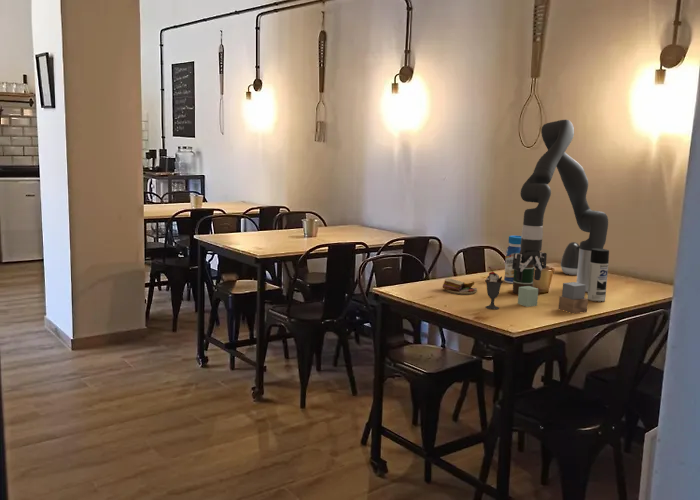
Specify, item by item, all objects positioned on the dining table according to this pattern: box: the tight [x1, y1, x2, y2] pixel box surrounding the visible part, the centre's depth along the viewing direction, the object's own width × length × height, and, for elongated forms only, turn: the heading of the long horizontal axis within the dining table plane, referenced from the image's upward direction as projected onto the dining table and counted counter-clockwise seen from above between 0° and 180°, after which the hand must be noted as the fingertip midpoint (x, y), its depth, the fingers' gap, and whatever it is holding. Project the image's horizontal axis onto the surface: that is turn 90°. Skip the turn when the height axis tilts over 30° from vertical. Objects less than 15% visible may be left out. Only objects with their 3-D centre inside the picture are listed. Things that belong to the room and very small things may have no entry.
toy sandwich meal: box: [442, 278, 478, 296], centre depth 272 cm, size 12×14×5 cm
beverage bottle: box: [503, 235, 522, 284], centre depth 292 cm, size 8×8×20 cm
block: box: [517, 286, 539, 308], centre depth 253 cm, size 5×5×6 cm
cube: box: [561, 281, 586, 300], centre depth 245 cm, size 6×6×5 cm
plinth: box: [558, 295, 589, 314], centre depth 246 cm, size 7×7×5 cm
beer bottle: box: [512, 250, 535, 295], centre depth 271 cm, size 8×8×24 cm
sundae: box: [484, 266, 504, 310], centre depth 245 cm, size 7×7×15 cm
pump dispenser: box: [560, 241, 580, 276], centre depth 315 cm, size 10×10×15 cm
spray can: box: [586, 248, 610, 303], centre depth 263 cm, size 7×7×20 cm
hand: (528, 280), depth 252 cm, fingers open, 8 cm apart
